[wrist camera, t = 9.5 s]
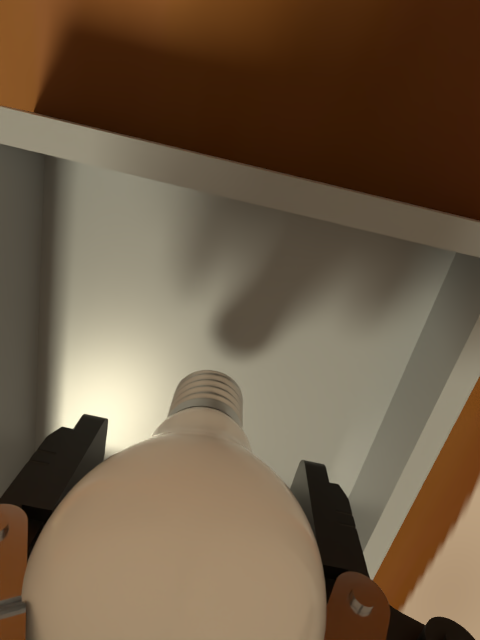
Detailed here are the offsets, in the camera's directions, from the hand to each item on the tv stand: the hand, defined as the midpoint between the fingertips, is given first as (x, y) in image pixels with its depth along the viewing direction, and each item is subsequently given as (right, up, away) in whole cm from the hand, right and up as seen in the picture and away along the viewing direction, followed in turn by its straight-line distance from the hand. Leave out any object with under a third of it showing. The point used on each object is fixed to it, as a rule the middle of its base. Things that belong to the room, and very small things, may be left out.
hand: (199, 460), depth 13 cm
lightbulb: (0, +2, +3) cm, 4 cm away
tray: (0, +2, +6) cm, 7 cm away
